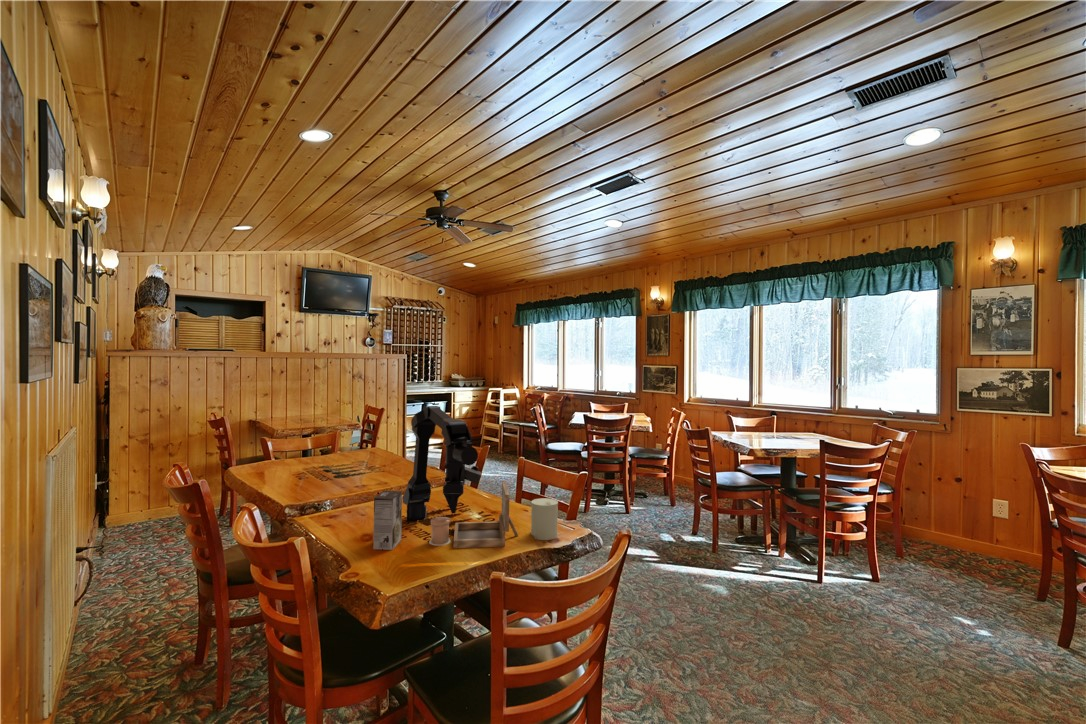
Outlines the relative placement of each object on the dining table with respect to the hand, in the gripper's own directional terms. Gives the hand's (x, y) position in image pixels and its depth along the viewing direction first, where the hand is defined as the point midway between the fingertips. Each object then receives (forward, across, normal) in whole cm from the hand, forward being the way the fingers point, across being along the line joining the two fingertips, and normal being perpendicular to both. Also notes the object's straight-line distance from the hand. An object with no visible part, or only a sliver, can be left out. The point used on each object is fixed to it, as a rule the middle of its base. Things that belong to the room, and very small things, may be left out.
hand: (454, 509), depth 164 cm
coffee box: (+12, +2, +21) cm, 24 cm away
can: (+12, +7, -30) cm, 33 cm away
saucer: (+11, +1, +4) cm, 12 cm away
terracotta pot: (+10, +1, +4) cm, 11 cm away
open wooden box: (+12, +4, -11) cm, 16 cm away
